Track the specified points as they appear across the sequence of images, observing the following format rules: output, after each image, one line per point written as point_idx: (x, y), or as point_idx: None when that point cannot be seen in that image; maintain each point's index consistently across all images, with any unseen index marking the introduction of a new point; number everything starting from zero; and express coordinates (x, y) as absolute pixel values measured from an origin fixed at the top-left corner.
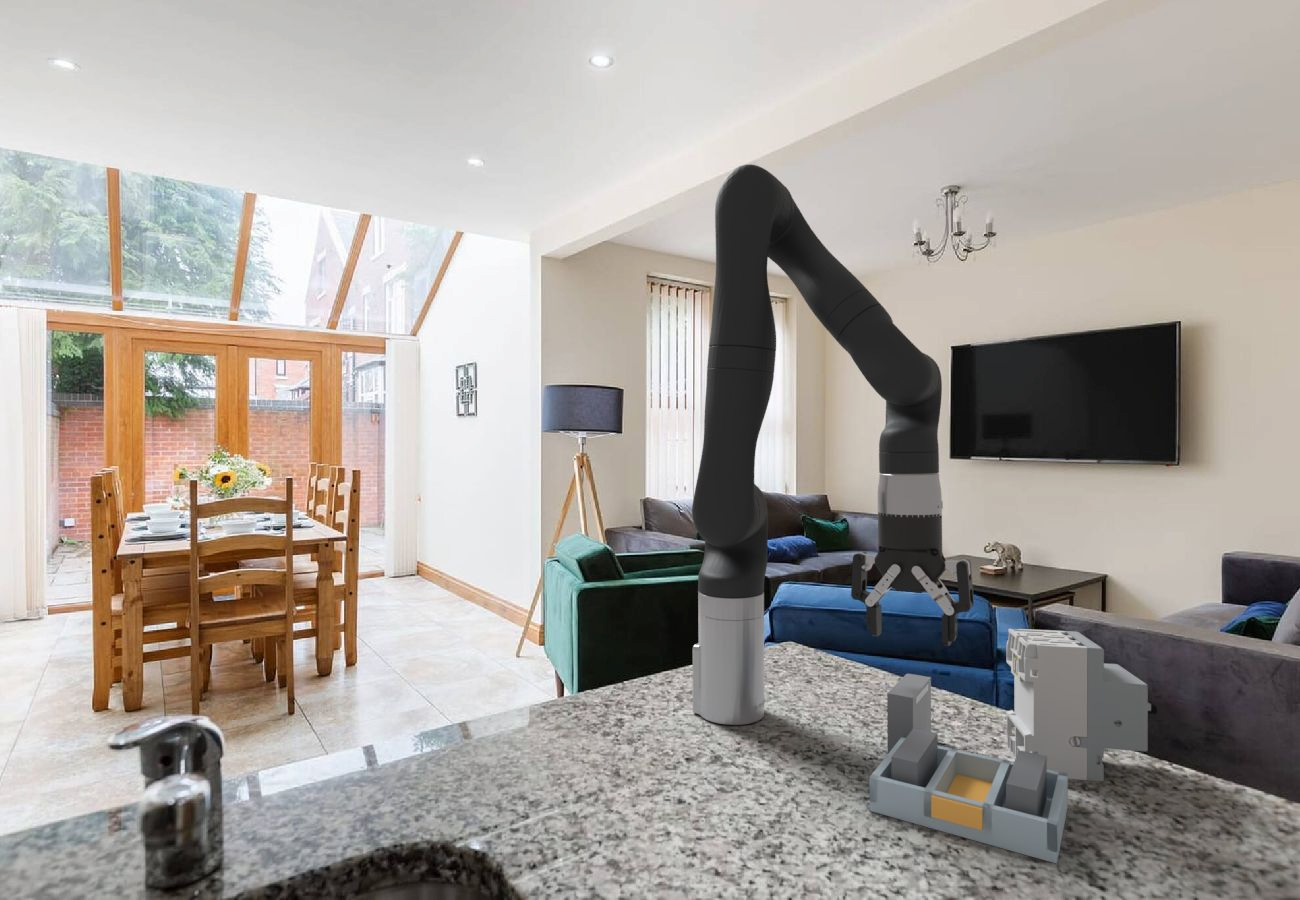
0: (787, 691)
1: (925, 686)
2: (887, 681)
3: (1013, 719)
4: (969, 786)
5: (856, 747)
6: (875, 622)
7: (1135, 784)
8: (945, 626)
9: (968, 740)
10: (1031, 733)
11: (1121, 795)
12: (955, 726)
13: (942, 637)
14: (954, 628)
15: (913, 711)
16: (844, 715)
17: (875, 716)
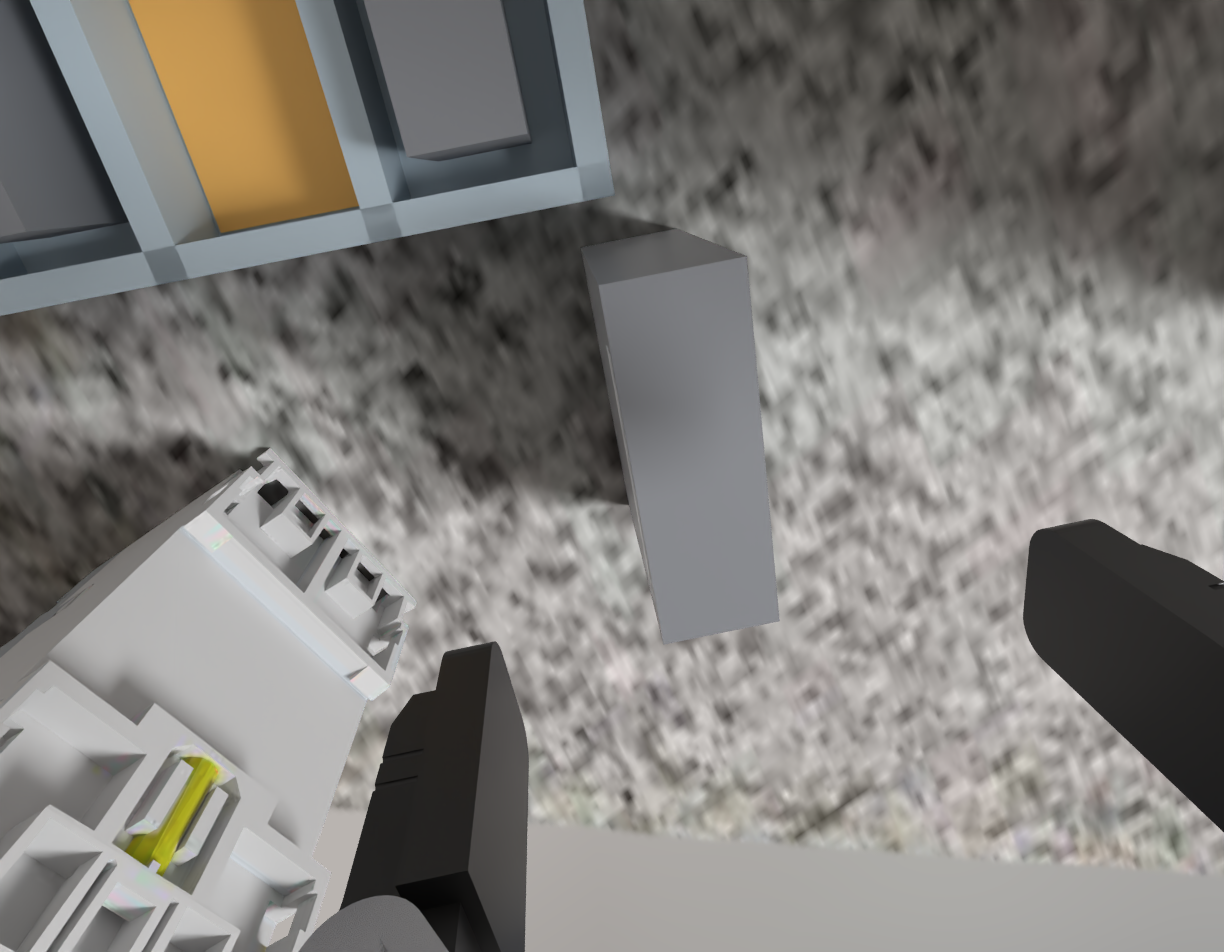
0: (1205, 536)
1: (644, 541)
2: (921, 816)
3: (329, 632)
4: (282, 117)
5: (812, 241)
6: (1146, 582)
7: (27, 614)
8: (444, 771)
9: (531, 576)
10: (202, 547)
11: (2, 514)
12: (611, 647)
13: (486, 679)
14: (376, 797)
15: (595, 285)
16: (952, 482)
17: (855, 548)
